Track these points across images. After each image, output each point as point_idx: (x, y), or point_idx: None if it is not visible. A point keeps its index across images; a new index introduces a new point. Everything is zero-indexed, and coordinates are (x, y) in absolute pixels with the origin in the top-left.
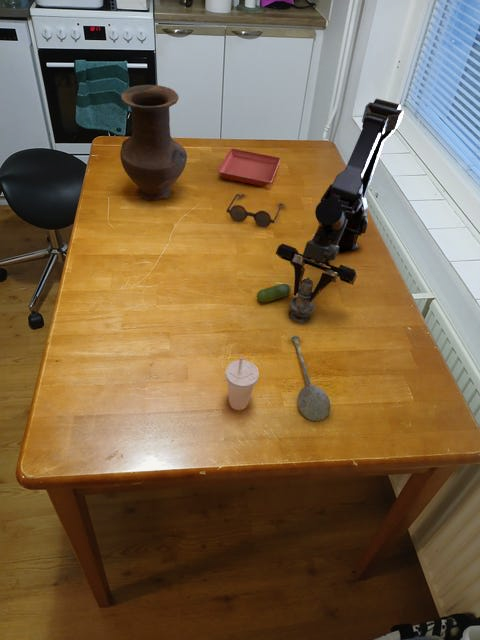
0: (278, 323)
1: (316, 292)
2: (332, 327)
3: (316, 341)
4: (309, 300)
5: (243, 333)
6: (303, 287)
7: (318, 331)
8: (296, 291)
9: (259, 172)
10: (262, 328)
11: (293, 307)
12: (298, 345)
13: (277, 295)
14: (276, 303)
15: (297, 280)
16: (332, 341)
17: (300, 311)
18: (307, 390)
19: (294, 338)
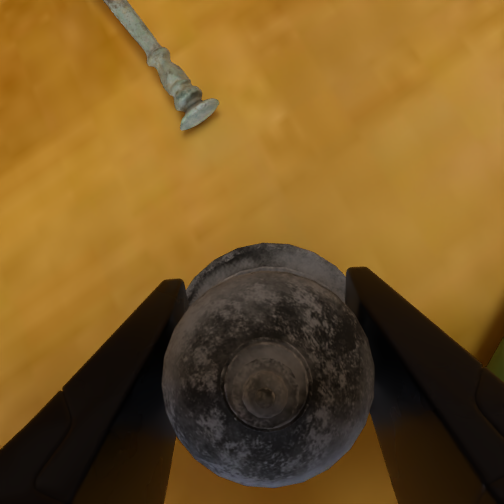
0: (349, 194)
1: (107, 351)
2: (50, 360)
3: (94, 195)
4: (179, 279)
5: (472, 11)
6: (282, 272)
7: (113, 275)
8: (357, 289)
9: None
10: (406, 104)
11: (313, 263)
12: (150, 53)
13: (496, 375)
14: None
15: (443, 373)
16: (14, 249)
17: (246, 257)
18: None
19: (198, 99)
